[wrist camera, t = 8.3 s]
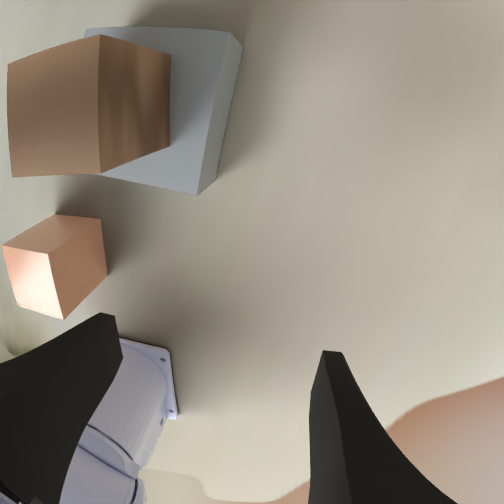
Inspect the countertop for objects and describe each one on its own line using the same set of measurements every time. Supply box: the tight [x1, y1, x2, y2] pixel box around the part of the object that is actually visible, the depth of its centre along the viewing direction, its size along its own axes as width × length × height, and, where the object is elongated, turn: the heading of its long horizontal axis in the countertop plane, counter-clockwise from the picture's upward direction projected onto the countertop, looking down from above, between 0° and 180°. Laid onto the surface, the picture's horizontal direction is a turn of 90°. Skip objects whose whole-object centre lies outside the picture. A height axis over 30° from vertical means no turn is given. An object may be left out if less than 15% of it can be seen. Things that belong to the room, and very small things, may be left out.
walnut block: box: [7, 34, 171, 177], centre depth 11 cm, size 4×4×6 cm
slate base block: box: [84, 27, 244, 196], centre depth 16 cm, size 8×8×4 cm
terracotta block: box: [2, 214, 108, 320], centre depth 19 cm, size 4×4×6 cm
